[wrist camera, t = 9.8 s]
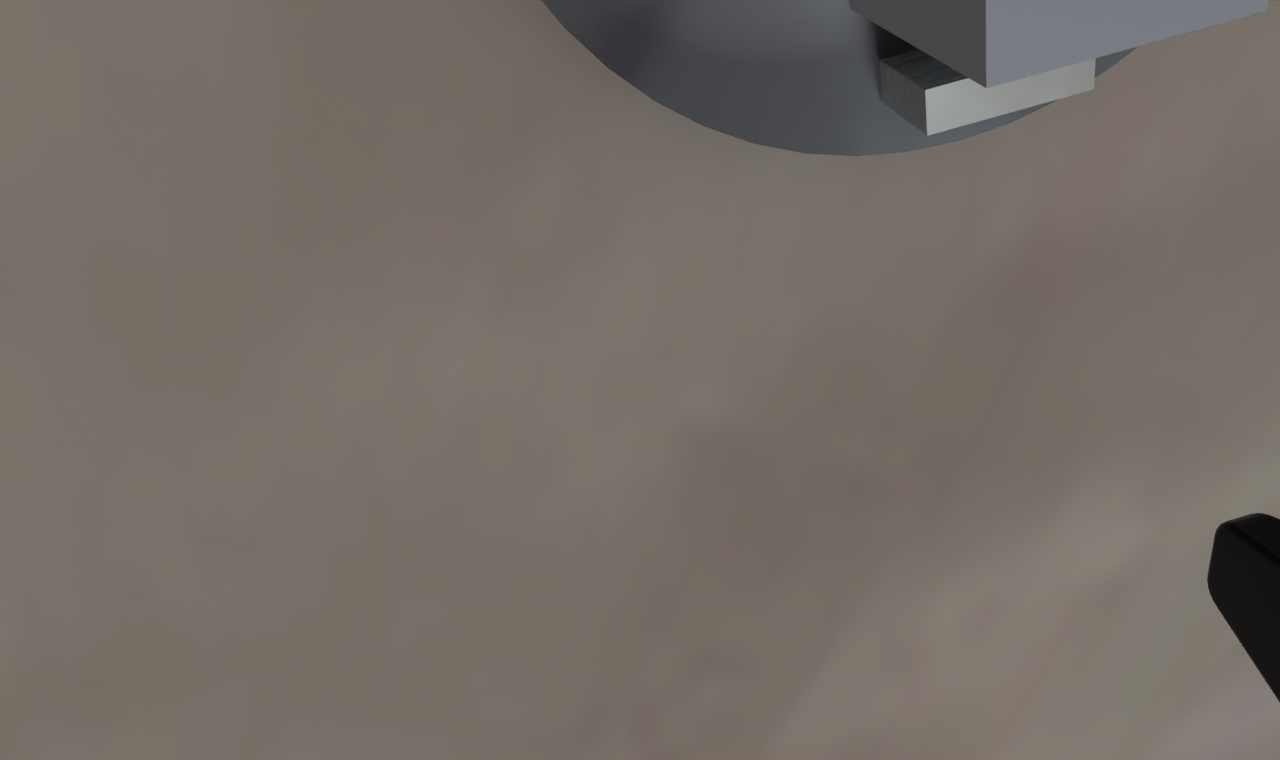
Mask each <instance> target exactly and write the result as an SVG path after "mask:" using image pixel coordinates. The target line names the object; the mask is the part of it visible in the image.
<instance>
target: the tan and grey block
mask: <svg viewBox="0 0 1280 760" xmlns="http://www.w3.org/2000/svg"><path fill="white" fill-rule="evenodd" d="M1268 2H1269V0H850V9H851V10H853V11H855V12H856V13H858V14H860V15H862V16H863V17H865V18H867V19H868V20H870V21H872V22H874V23H875V24H877V25H879V26H880V27H882V28H884V29H886V30H887V31H889V32H891V33H892V34H894V35H896V36H898V37H899V38H901V39H903V40H904V41H906V42H908V43H910V44H911V45H913V46H915V47H916V48H918V49H920V50H922V51H923V52H925V53H927V54H928V55H930V56H932V57H933V58H935V59H937V60H939V61H940V62H942V63H944V64H945V65H947V66H949V67H951V68H952V69H954V70H956V71H957V72H959V73H961V74H963V75H964V76H966V77H968V78H969V79H971V80H973V81H975V82H976V83H978V84H980V85H981V86H983V87H985V88H989V87H993V86H997V85H1000V84H1004V83H1007V82H1011V81H1015V80H1018V79H1022V78H1026V77H1029V76H1033V75H1036V74H1040V73H1044V72H1047V71H1051V70H1054V69H1058V68H1062V67H1065V66H1069V65H1073V64H1076V63H1080V62H1083V61H1087V60H1091V59H1094V58H1098V57H1101V56H1105V55H1109V54H1112V53H1116V52H1120V51H1123V50H1127V49H1130V48H1134V47H1138V46H1141V45H1145V44H1149V43H1152V42H1156V41H1159V40H1163V39H1167V38H1170V37H1174V36H1177V35H1181V34H1185V33H1188V32H1192V31H1196V30H1199V29H1203V28H1206V27H1210V26H1214V25H1217V24H1221V23H1224V22H1228V21H1232V20H1235V19H1239V18H1243V17H1246V16H1250V15H1253V14H1257V13H1261V12H1264V11H1267V8H1268Z"/></svg>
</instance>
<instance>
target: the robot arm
mask: <svg viewBox="0 0 1280 760" xmlns="http://www.w3.org/2000/svg"><path fill="white" fill-rule="evenodd" d="M1207 581H1208V588H1209V591H1210V594H1211V597H1212V599H1213V601H1214V603H1215V604H1216V606H1217V608H1218V609H1219V611H1220V612H1221V614H1222V615H1223V617H1224V618H1225V620H1226V621H1227V623H1228V624H1229V626H1230V627H1231V629H1232V630H1233V632H1234V633H1235V635H1236V637H1237V638H1238V640H1239V641H1240V643H1241V644H1242V646H1243V647H1244V649H1245V650H1246V652H1247V653H1248V655H1249V656H1250V658H1251V659H1252V661H1253V662H1254V664H1255V666H1256V667H1257V669H1258V670H1259V672H1260V673H1261V675H1262V676H1263V678H1264V679H1265V681H1266V682H1267V684H1268V685H1269V687H1270V688H1271V690H1272V691H1273V693H1274V694H1275V696H1276V698H1277V699H1278V701H1279V702H1280V519H1278V518H1276V517H1273V516H1270V515H1267V514H1262V513H1255V514H1250V515H1246V516H1243V517H1240V518H1236V519H1233V520H1230V521H1226V522H1224V523H1222V524H1221V525H1220V526H1219V527H1218V528H1217V530H1216V533H1215V537H1214V543H1213V548H1212V554H1211V560H1210V565H1209V571H1208V578H1207Z"/></svg>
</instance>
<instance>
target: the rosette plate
mask: <svg viewBox="0 0 1280 760" xmlns="http://www.w3.org/2000/svg"><path fill="white" fill-rule="evenodd" d="M542 1H543V2H544V3H545V5H546V6H547V7H548V8H549V10H550V11H551V12H552V13H553V14H554V16H555V17H556V18H557V19H558V20H559V22H560V23H561V24H562V25H563V26H564V27H565V28H566V29H567V30H568V31H569V32H570V33H571V34H572V35H573V36H574V37H575V38H576V39H578V40H579V41H580V42H581V43H582V44H583V45H584V46H585V47H586V48H587V49H588V50H589V51H590V52H592V53H593V54H594V55H595V56H596V57H597V58H598V59H599V60H600V61H601V62H602V63H603V64H604V65H606V66H607V67H608V68H609V69H610V70H612V71H613V72H615V73H616V74H617V75H619V76H620V77H622V78H623V79H625V80H626V81H627V82H629V83H630V84H632V85H633V86H634V87H636V88H637V89H639V90H640V91H642V92H643V93H644V94H646V95H647V96H649V97H650V98H652V99H653V100H654V101H656V102H658V103H660V104H662V105H664V106H666V107H668V108H670V109H672V110H674V111H675V112H677V113H679V114H681V115H683V116H685V117H687V118H689V119H691V120H693V121H695V122H697V123H699V124H701V125H703V126H705V127H708V128H711V129H714V130H717V131H720V132H722V133H725V134H728V135H731V136H734V137H737V138H740V139H743V140H746V141H749V142H751V143H754V144H760V145H765V146H770V147H775V148H780V149H786V150H791V151H796V152H801V153H810V154H830V155H849V156H860V155H872V154H884V153H896V152H908V151H912V150H917V149H922V148H926V147H931V146H936V145H940V144H945V143H950V142H954V141H959V140H962V139H965V138H968V137H971V136H973V135H976V134H979V133H982V132H985V131H988V130H991V129H994V128H997V127H999V126H1002V125H1005V124H1008V123H1011V122H1013V121H1015V120H1017V119H1019V118H1021V117H1023V116H1025V115H1027V114H1029V113H1032V112H1034V111H1036V110H1038V109H1040V108H1042V107H1044V106H1046V105H1048V104H1050V103H1052V102H1054V101H1057V100H1059V99H1061V98H1064V97H1068V96H1071V95H1075V94H1079V93H1082V92H1086V91H1089V90H1093V89H1094V78H1095V77H1096V76H1098V75H1099V74H1101V73H1103V72H1104V71H1106V70H1107V69H1109V68H1110V67H1112V66H1113V65H1114V64H1116V63H1117V62H1118V61H1119V60H1121V59H1122V58H1123V57H1125V56H1126V55H1127V54H1129V53H1130V52H1131V51H1133V50H1134V49H1135V48H1136V47H1134V48H1130V49H1127V50H1123V51H1120V52H1116V53H1112V54H1109V55H1105V56H1101V57H1098V58H1094V59H1091V60H1087V61H1083V62H1080V63H1076V64H1073V65H1069V66H1065V67H1062V68H1058V69H1054V70H1051V71H1047V72H1044V73H1040V74H1036V75H1033V76H1029V77H1026V78H1022V79H1018V80H1015V81H1011V82H1007V83H1004V84H1000V85H997V86H993V87H989V88H985V87H983V86H981V85H980V84H978V83H976V82H975V81H973V80H971V79H969V78H968V77H966V76H964V75H963V74H961V73H959V72H957V71H956V70H954V69H952V68H951V67H949V66H947V65H945V64H944V63H942V62H940V61H939V60H937V59H935V58H933V57H932V56H930V55H928V54H927V53H925V52H923V51H922V50H920V49H918V48H916V47H915V46H913V45H911V44H910V43H908V42H906V41H904V40H903V39H901V38H899V37H898V36H896V35H894V34H892V33H891V32H889V31H887V30H886V29H884V28H882V27H880V26H879V25H877V24H875V23H874V22H872V21H870V20H868V19H867V18H865V17H863V16H862V15H860V14H858V13H856V12H855V11H853V10H851V9H850V0H542Z"/></svg>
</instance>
